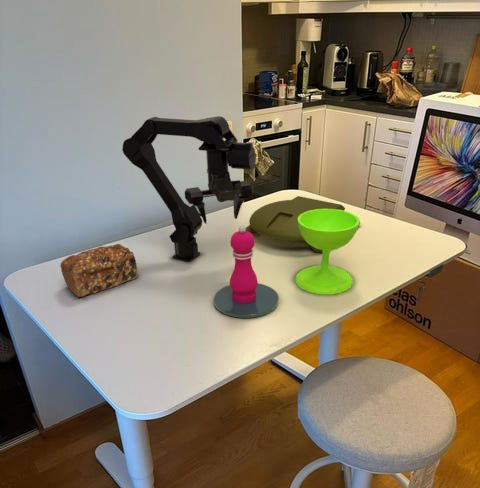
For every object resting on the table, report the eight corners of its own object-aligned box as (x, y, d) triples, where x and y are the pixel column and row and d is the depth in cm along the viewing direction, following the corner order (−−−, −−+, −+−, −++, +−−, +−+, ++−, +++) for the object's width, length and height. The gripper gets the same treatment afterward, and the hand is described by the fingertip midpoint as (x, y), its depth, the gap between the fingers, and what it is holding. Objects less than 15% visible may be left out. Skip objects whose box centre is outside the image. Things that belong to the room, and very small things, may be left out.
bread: (78, 300, 133) (70, 267, 128) (64, 285, 140) (56, 253, 135) (140, 279, 142) (135, 247, 137) (123, 266, 150) (118, 235, 144)
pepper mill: (261, 292, 132) (260, 221, 121) (253, 306, 126) (251, 233, 115) (235, 289, 134) (233, 219, 123) (226, 302, 128) (222, 230, 117)
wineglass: (293, 267, 146) (295, 209, 136) (348, 267, 145) (354, 208, 135) (297, 294, 132) (299, 232, 123) (357, 294, 132) (364, 231, 122)
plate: (201, 309, 128) (201, 305, 127) (234, 281, 140) (234, 277, 139) (260, 325, 120) (260, 321, 120) (289, 294, 133) (289, 290, 132)
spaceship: (286, 208, 187) (286, 182, 182) (362, 225, 172) (365, 197, 166) (231, 240, 164) (230, 212, 158) (313, 263, 148) (315, 232, 143)
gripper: (191, 179, 126) (196, 236, 135) (260, 170, 131) (260, 225, 140) (181, 168, 135) (186, 222, 144) (246, 160, 140) (247, 212, 149)
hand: (220, 220), depth 144 cm, fingers open, 9 cm apart
